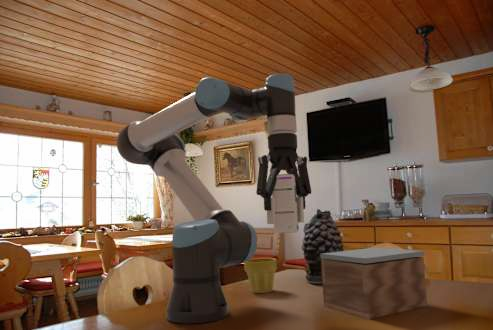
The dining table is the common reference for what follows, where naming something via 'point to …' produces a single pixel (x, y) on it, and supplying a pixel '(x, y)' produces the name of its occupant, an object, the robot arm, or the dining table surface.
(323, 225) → the dark pine cone
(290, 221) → the syrup box
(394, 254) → the crate lid
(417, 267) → the walnut crate
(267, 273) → the plant pot
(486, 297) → the dining table surface
